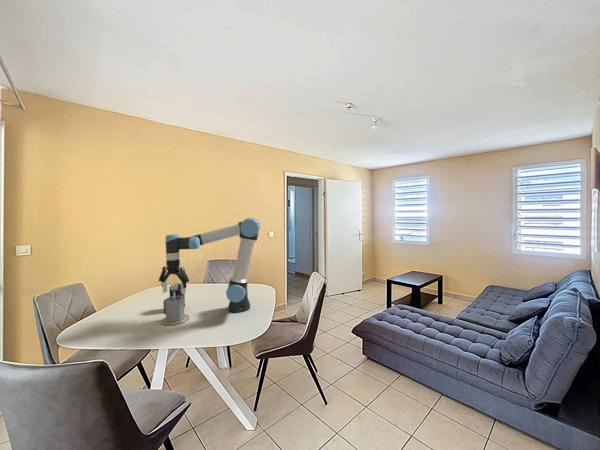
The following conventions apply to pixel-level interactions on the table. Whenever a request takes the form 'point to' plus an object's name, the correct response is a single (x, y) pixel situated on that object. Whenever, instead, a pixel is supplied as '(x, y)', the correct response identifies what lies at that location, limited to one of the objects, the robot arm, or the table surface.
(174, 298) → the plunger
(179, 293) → the canister
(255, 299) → the table surface
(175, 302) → the press carafe
